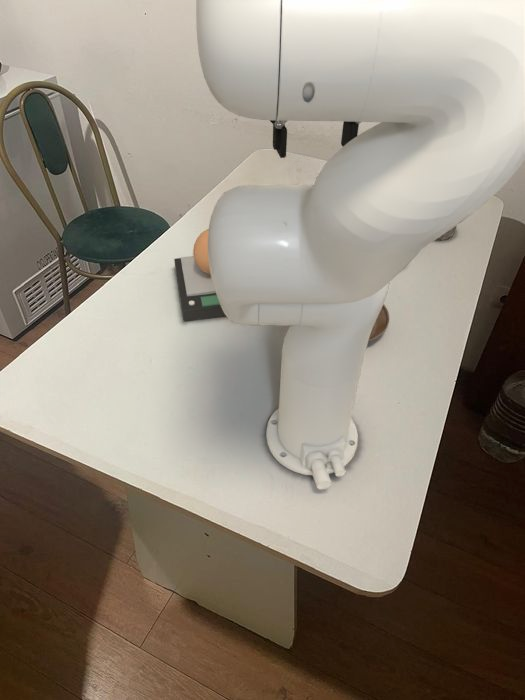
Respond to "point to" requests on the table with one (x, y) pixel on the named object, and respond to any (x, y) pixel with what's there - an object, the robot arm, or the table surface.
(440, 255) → the table surface
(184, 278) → the scale
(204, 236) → the egg
